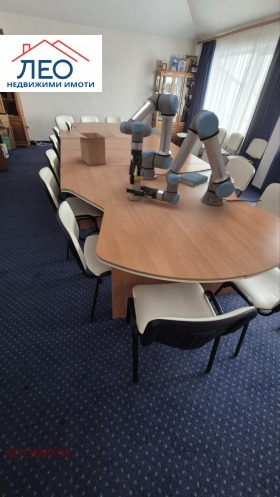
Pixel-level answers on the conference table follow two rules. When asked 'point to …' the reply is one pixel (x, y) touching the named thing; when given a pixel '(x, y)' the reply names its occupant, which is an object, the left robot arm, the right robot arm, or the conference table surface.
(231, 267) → the conference table surface
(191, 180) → the book
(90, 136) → the box
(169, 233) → the conference table surface
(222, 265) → the conference table surface
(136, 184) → the jar
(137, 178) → the lid
